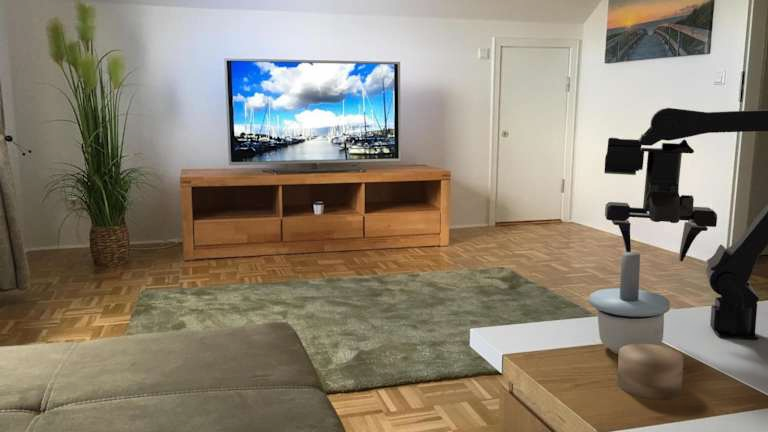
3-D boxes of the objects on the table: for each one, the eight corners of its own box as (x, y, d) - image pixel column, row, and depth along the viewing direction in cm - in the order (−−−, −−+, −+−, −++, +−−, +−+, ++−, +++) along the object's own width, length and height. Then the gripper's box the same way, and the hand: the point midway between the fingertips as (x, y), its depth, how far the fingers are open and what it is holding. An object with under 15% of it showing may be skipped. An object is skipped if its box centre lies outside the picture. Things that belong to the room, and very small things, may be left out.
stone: (674, 375, 100) (675, 345, 99) (687, 401, 92) (689, 368, 91) (614, 371, 102) (615, 342, 101) (621, 396, 94) (623, 364, 93)
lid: (677, 300, 112) (680, 250, 110) (658, 321, 102) (661, 267, 100) (603, 289, 120) (605, 243, 118) (578, 308, 110) (579, 257, 108)
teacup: (669, 364, 105) (671, 318, 103) (599, 361, 107) (601, 315, 105) (651, 335, 118) (653, 293, 117) (590, 332, 120) (591, 291, 119)
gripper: (612, 178, 112) (605, 264, 115) (729, 184, 107) (719, 274, 110) (608, 172, 123) (601, 251, 125) (714, 177, 118) (704, 259, 121)
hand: (654, 259), depth 120 cm, fingers open, 9 cm apart
